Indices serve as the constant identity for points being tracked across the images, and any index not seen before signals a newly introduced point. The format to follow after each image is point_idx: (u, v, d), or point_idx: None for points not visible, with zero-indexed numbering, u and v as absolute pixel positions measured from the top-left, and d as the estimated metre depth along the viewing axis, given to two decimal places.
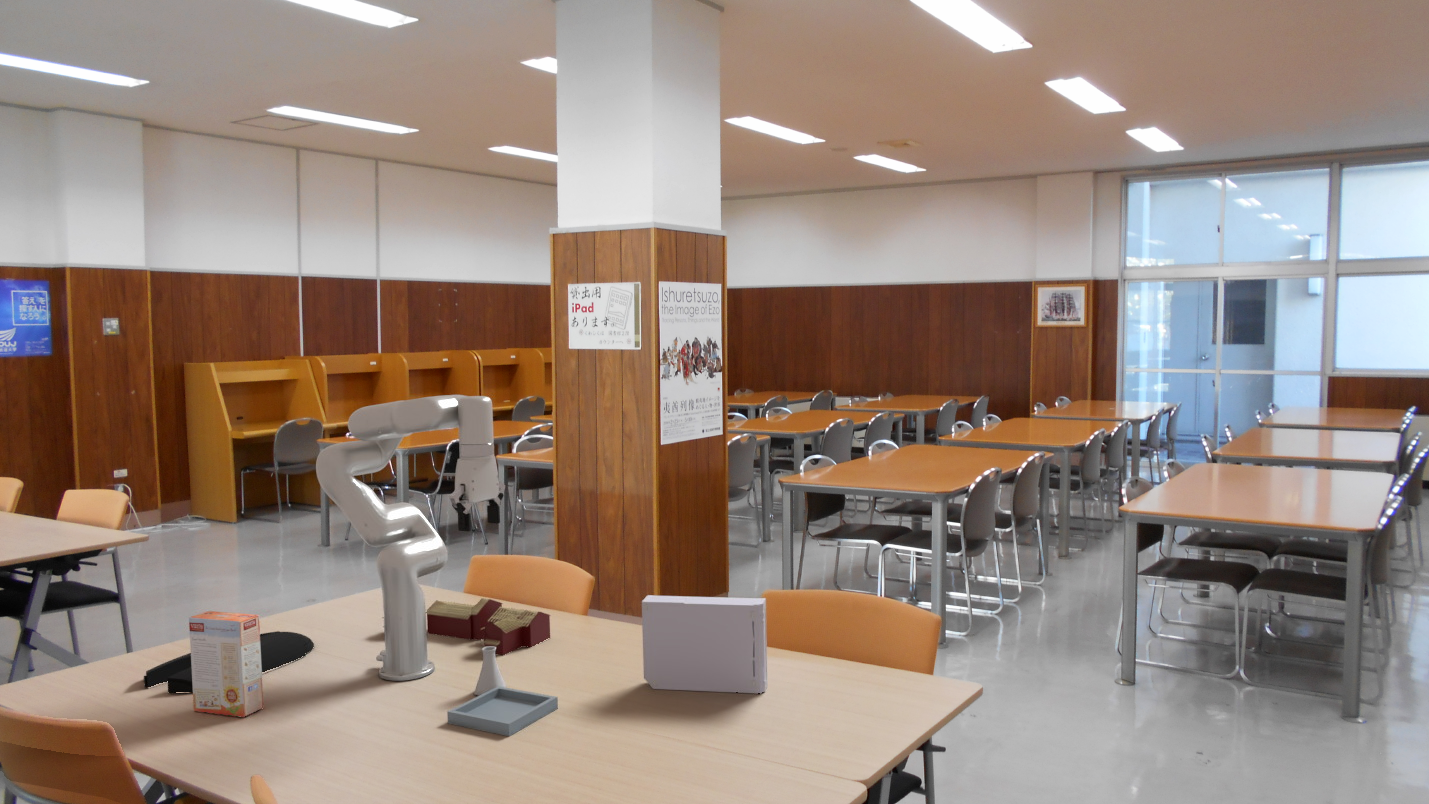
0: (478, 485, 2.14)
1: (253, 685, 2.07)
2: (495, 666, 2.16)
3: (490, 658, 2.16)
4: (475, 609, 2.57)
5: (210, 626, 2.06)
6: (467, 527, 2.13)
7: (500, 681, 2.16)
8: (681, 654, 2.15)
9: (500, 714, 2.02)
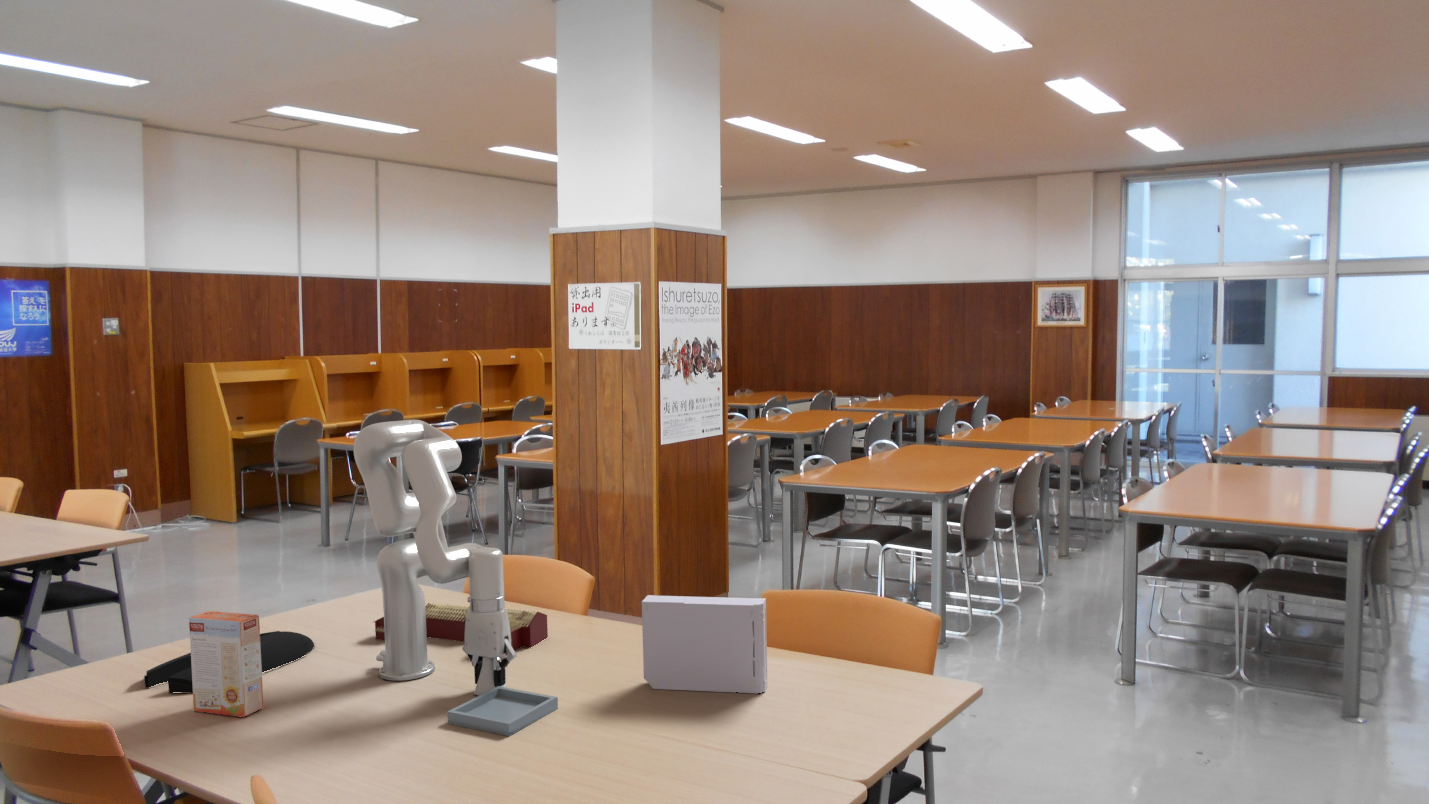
0: None
1: (253, 685, 2.07)
2: None
3: (490, 658, 2.16)
4: None
5: (210, 626, 2.06)
6: None
7: None
8: (681, 654, 2.15)
9: (500, 714, 2.02)
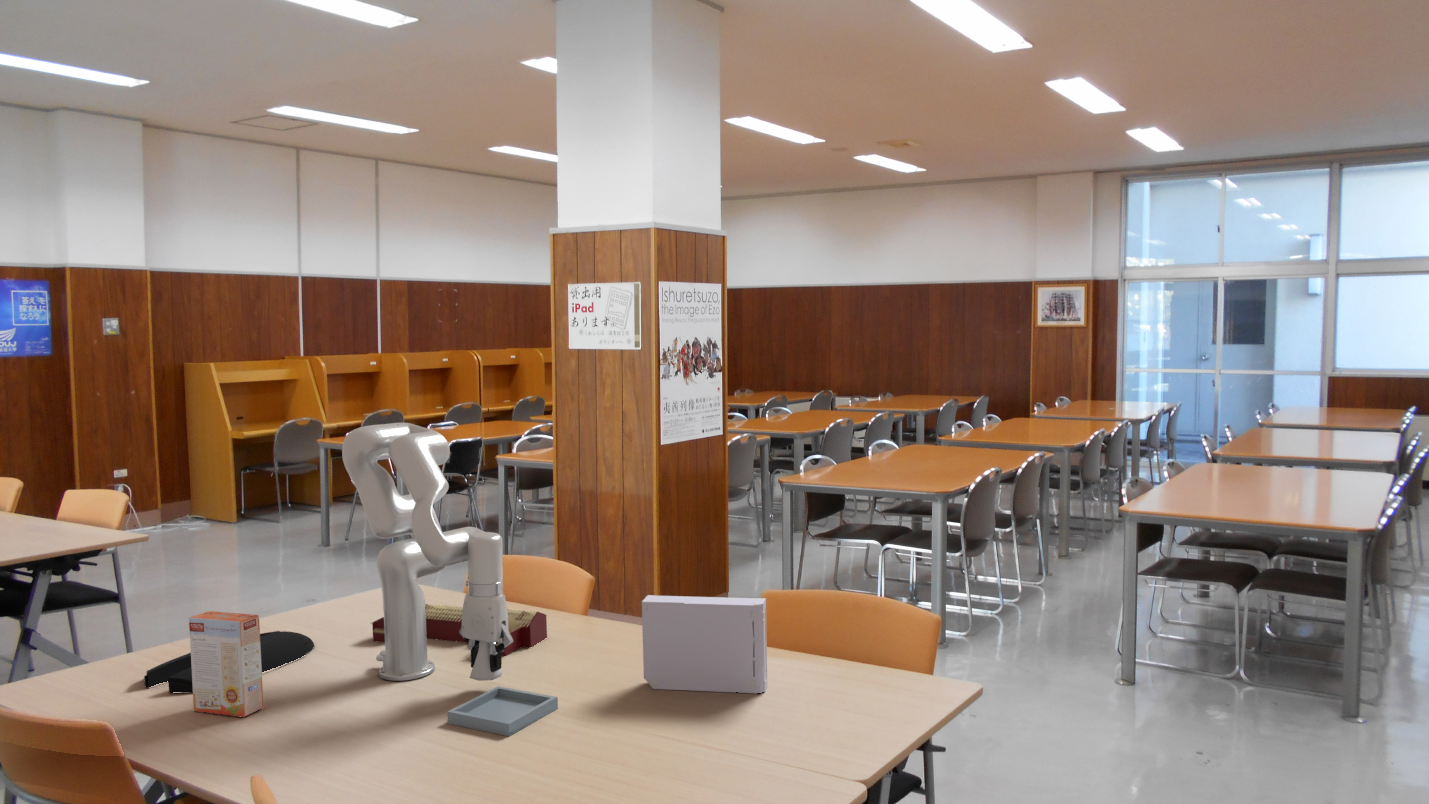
0: None
1: (253, 685, 2.07)
2: (491, 650, 2.17)
3: None
4: None
5: (210, 626, 2.06)
6: None
7: None
8: (681, 654, 2.15)
9: (500, 714, 2.02)
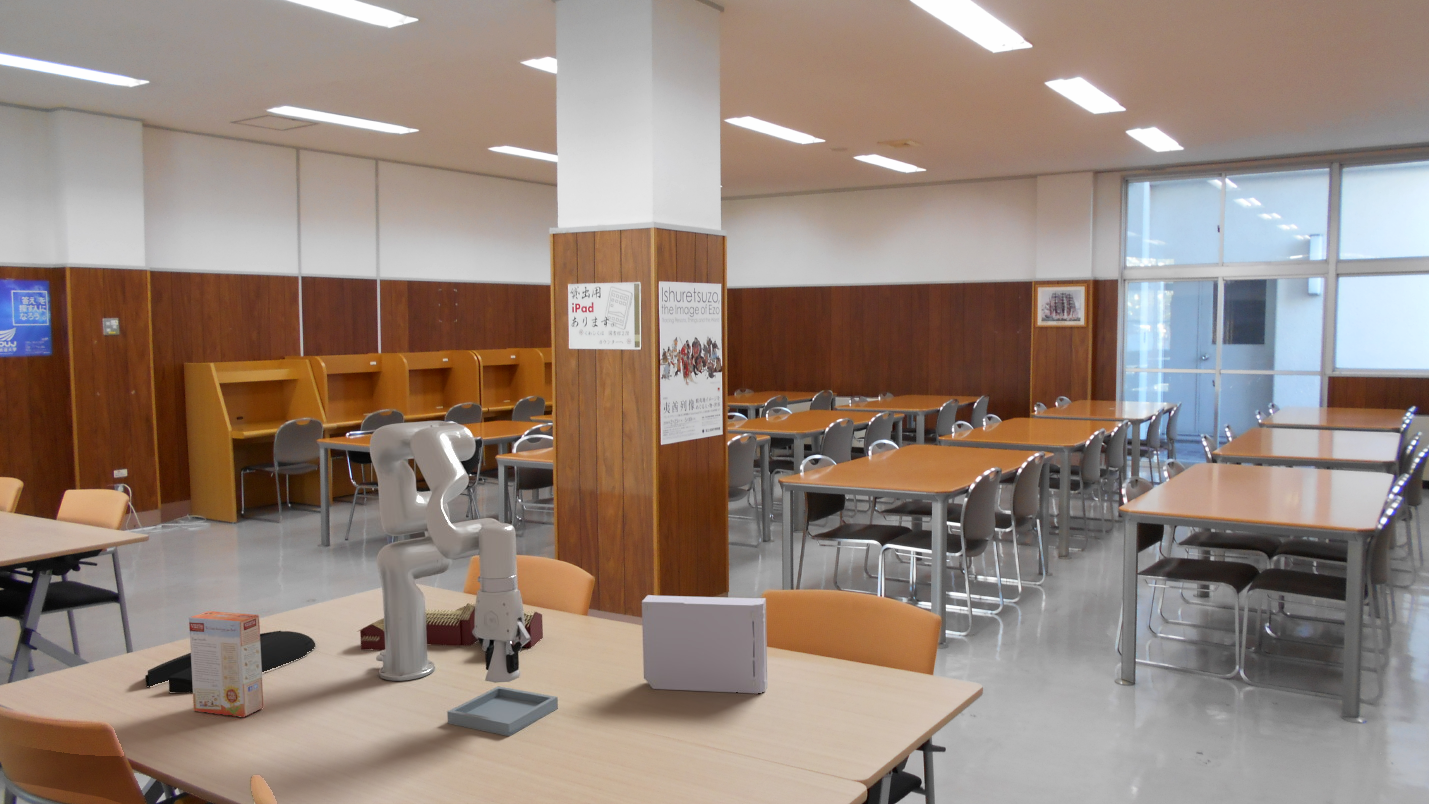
0: None
1: (253, 685, 2.07)
2: None
3: (502, 641, 2.01)
4: (464, 614, 2.52)
5: (210, 626, 2.06)
6: None
7: None
8: (681, 654, 2.15)
9: (500, 714, 2.02)
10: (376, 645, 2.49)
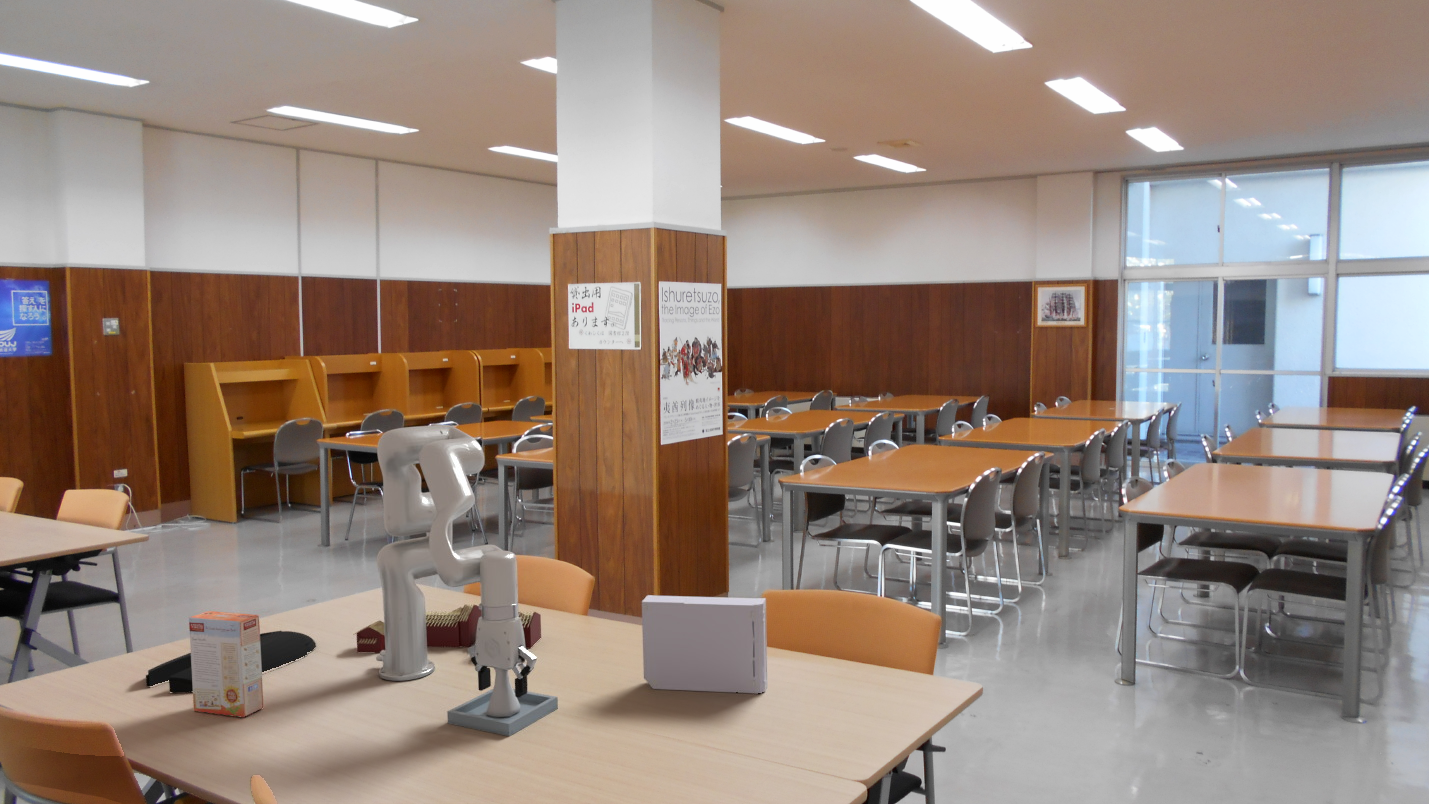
0: None
1: (253, 685, 2.07)
2: (508, 684, 2.02)
3: (503, 675, 2.01)
4: (463, 615, 2.51)
5: (210, 626, 2.06)
6: None
7: (514, 700, 2.02)
8: (681, 654, 2.15)
9: None
10: (373, 648, 2.47)
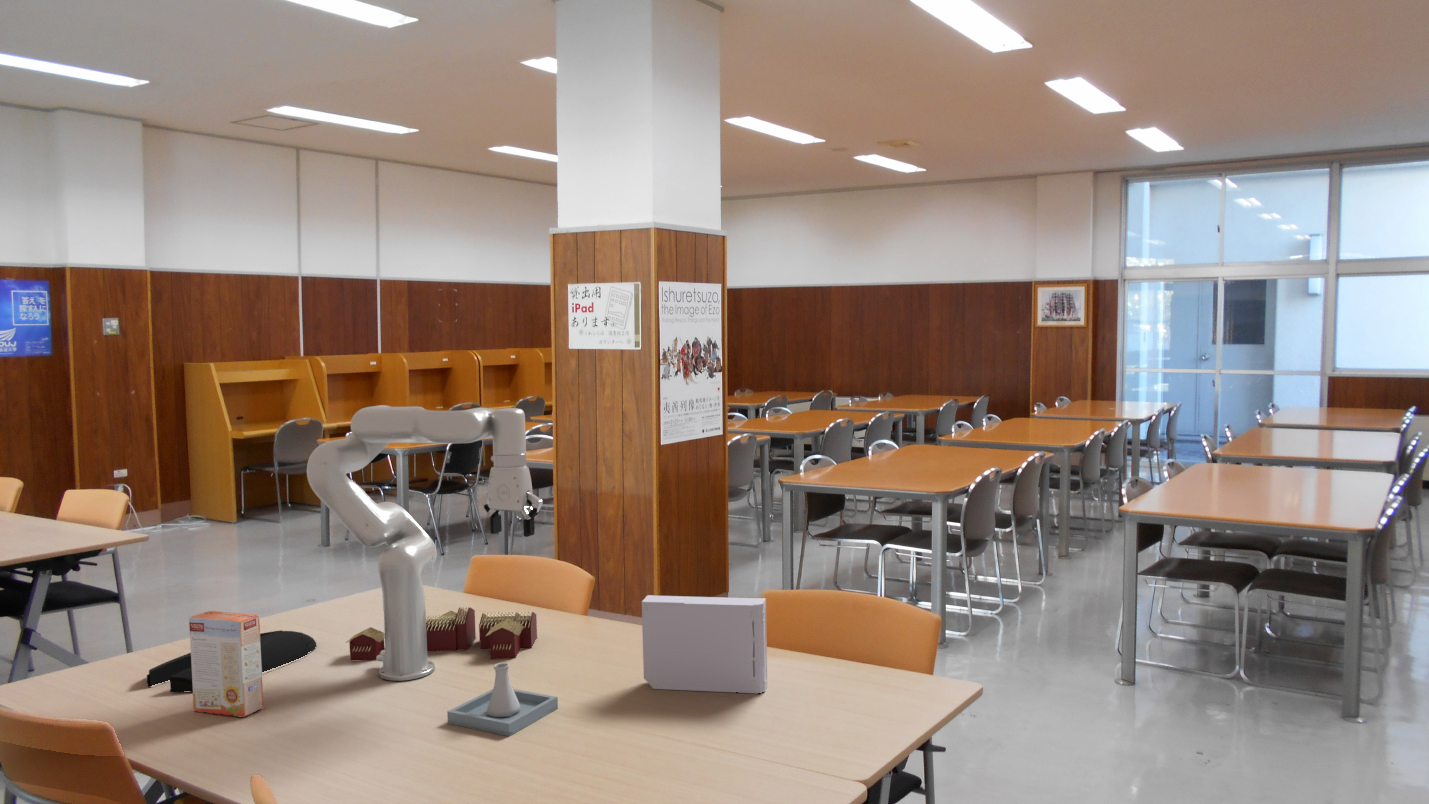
0: None
1: (253, 685, 2.07)
2: (508, 684, 2.02)
3: (503, 675, 2.01)
4: (459, 618, 2.48)
5: (210, 626, 2.06)
6: None
7: (514, 700, 2.02)
8: (681, 654, 2.15)
9: None
10: (367, 655, 2.41)
